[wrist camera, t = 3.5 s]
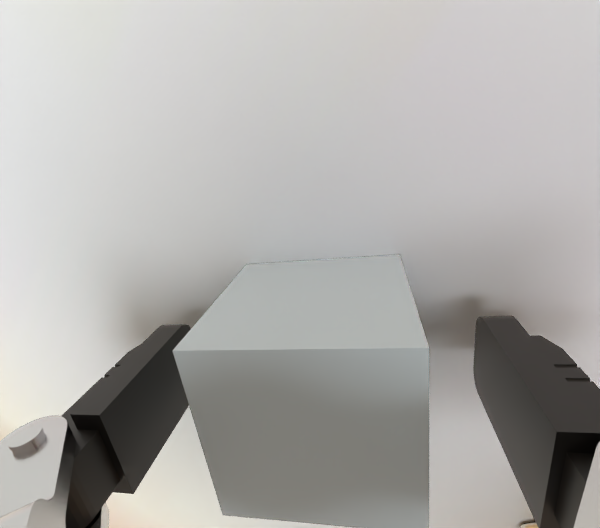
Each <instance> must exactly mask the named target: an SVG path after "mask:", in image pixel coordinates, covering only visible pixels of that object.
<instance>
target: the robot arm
mask: <svg viewBox="0 0 600 528" xmlns="http://www.w3.org/2000/svg"><path fill="white" fill-rule="evenodd" d="M190 330H191V328H190V327H189V326H188V325H162V326H160V327H159V328H158V329H157V330H156V331H155V332H154V333H153V334H152V335H151V336H150V337H149V338H148V339H146V340H145V341H144V342H143V343H142V344H141V345H139V346H138V347H136V348H134V349H133V350H131V351H130V352H128V353H127V354H126V355H125V356H124V357H123V358H122V359H121V360H120V361H119V362H117V363H116V364H115V367H112V368H111V369H110V370H109V371H108V372H107V373H106V374H105V377H104V378H101V379H100V380H99V381H98V382H97V383H96V384H94V385H93V386H92V387H91V388H90V389H89V390H88V391H87V392H86V393H85V394H84V395H83V396H82V397H81V398H80V399H79V400H78V401H77V402H76V403H75V404H74V405H73V406H71V407H70V408H69V409H68V410H67V411H66V412H65V413H64V414H63V415H62V416H47V417H43V418H39V419H36V420H34V421H31V422H29V423H27V424H25V425H23V426H21V427H20V428H18V429H16V430H15V431H13V432H12V433H10V434H9V435H7V436H6V437H5V438H3V439H2V440H1V441H0V528H109V509H108V506H107V504H106V500H107V499H108V498H109V496H110V495H111V493H112V492H117V493H129V494H134V492H135V490H136V489H137V487H138V486H139V484H140V482H141V481H142V479H143V478H144V476H145V474H146V473H147V471H148V470H149V468H150V466H151V465H152V463H153V462H154V460H155V458H156V457H157V455H158V454H159V452H160V450H161V449H162V447H163V446H164V444H165V442H166V441H167V439H168V438H169V436H170V434H171V433H172V431H173V430H174V428H175V426H176V425H177V423H178V422H179V420H180V418H181V417H182V415H183V414H184V412H185V410H186V409H187V407H188V406H189V403H188V400H187V397H186V393H185V390H184V387H183V384H182V380H181V377H180V374H179V371H178V367H177V364H176V361H175V358H174V354H173V350H174V348H175V347H176V346H177V345H178V344H179V342H180V341H181V340H182V339H183V338H184V337H185V335H186V334H187V333H188V332H189V331H190ZM474 380H475V385H476V389H477V392H478V394H479V396H480V399H481V401H482V403H483V405H484V408H485V410H486V412H487V414H488V417H489V419H490V421H491V423H492V425H493V428H494V430H495V432H496V434H497V437H498V439H499V441H500V443H501V446H502V448H503V450H504V452H505V454H506V457H507V459H508V461H509V463H510V466H511V468H512V470H513V472H514V475H515V477H516V479H517V481H518V483H519V486H520V488H521V490H522V492H523V495H524V497H525V499H526V501H527V504H528V506H529V508H530V510H531V512H532V515H533V517H534V519H535V521H536V524H537V526H538V528H600V389H599V388H598V387H597V386H596V385H595V384H594V382H590V378H589V377H588V376H587V375H586V374H585V373H584V372H583V371H582V369H581V368H577V364H576V363H575V362H574V361H573V360H572V359H571V358H570V357H569V355H568V354H567V353H566V352H565V351H564V350H563V349H562V348H560V347H559V346H557V345H555V344H554V343H552V342H550V341H548V340H547V339H545V338H543V337H542V336H530V335H529V334H528V333H527V332H526V331H525V329H524V328H523V327H522V326H521V325H520V323H519V322H518V321H517V320H516V319H515V318H514V317H513V316H489V317H479V318H478V319H477V322H476V333H475V350H474Z"/></svg>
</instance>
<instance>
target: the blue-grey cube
mask: <svg viewBox="0 0 600 528" xmlns="http://www.w3.org/2000/svg"><path fill="white" fill-rule="evenodd" d="M173 354H174V358H175V361H176V364H177V367H178V371H179V374H180V377H181V380H182V384H183V387H184V390H185V393H186V397H187V400H188V403H189V406H190V410H191V413H192V416H193V419H194V423H195V426H196V429H197V432H198V436H199V439H200V442H201V445H202V449H203V452H204V455H205V458H206V462H207V465H208V468H209V471H210V475H211V478H212V481H213V484H214V488H215V491H216V494H217V497H218V501H219V504H220V507H221V510H222V514H223V515H228V516H238V517H249V518H260V519H270V520H281V521H292V522H303V523H313V524H324V525H335V526H345V527H356V528H429V345H428V342H427V339H426V336H425V332H424V329H423V326H422V323H421V320H420V317H419V313H418V310H417V307H416V304H415V301H414V298H413V295H412V291H411V288H410V285H409V282H408V279H407V276H406V273H405V269H404V266H403V263H402V260H401V257H400V254H394V255H379V256H364V257H348V258H333V259H318V260H302V261H287V262H272V263H256V264H246V265H245V267H244V268H243V269H242V270H241V271H240V272H239V274H238V275H237V276H236V277H235V278H234V279H233V281H232V282H231V283H230V284H229V285H228V286H227V288H226V289H225V290H224V291H223V292H222V293H221V295H220V296H219V297H218V298H217V299H216V300H215V302H214V303H213V304H212V305H211V306H210V307H209V309H208V310H207V311H206V312H205V313H204V314H203V316H202V317H201V318H200V319H199V320H198V321H197V323H196V324H195V325H194V326H193V327H192V328H191V330H190V331H189V332H188V333H187V334H186V335H185V337H184V338H183V339H182V340H181V341H180V342H179V344H178V345H177V346H176V347H175V348H174V350H173Z"/></svg>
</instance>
